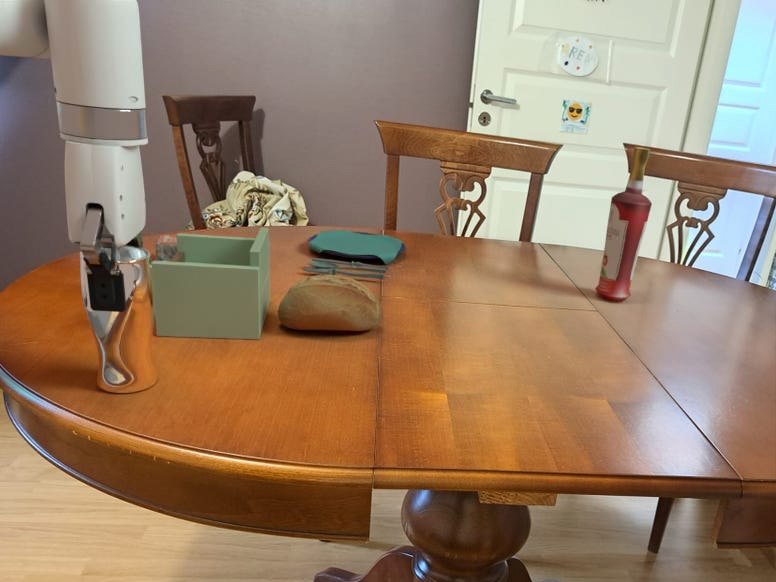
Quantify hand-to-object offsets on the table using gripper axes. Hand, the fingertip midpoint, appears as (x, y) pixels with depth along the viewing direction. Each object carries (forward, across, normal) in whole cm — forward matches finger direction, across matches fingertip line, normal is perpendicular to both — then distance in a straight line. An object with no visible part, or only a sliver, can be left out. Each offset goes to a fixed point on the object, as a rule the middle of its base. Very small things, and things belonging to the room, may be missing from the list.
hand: (119, 296), depth 71 cm
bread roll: (+10, -19, +22) cm, 31 cm away
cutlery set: (+10, -58, +26) cm, 64 cm away
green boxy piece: (+10, -22, +6) cm, 25 cm away
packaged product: (+11, -48, +1) cm, 49 cm away
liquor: (+10, -41, +75) cm, 86 cm away
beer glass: (+10, 0, 0) cm, 10 cm away
